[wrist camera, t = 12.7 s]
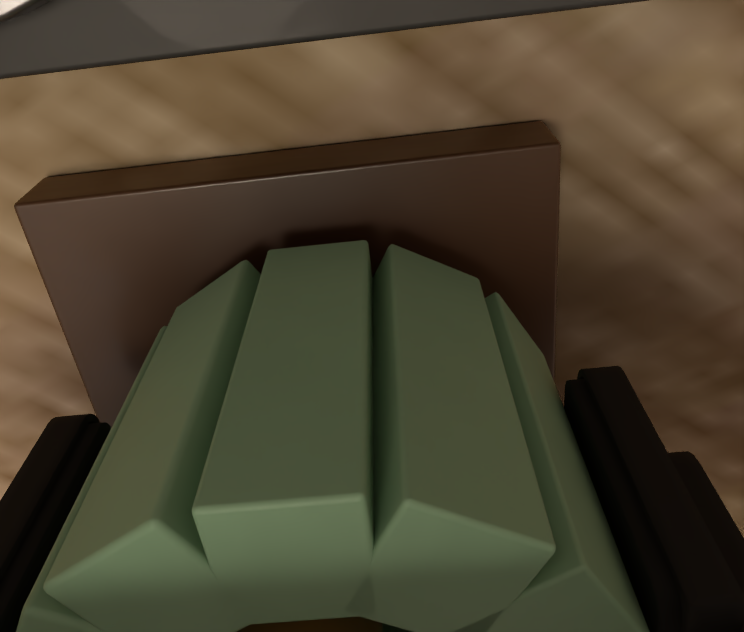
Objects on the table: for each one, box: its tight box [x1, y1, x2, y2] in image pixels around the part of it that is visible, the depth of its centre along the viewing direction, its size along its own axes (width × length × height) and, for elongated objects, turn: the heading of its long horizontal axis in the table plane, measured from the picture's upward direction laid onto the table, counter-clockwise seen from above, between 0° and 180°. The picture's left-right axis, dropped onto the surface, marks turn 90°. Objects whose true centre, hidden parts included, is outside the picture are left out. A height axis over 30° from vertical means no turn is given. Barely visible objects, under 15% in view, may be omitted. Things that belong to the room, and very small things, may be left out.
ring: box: [16, 240, 650, 632], centre depth 9 cm, size 7×7×5 cm
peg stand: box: [14, 121, 561, 632], centre depth 10 cm, size 8×8×7 cm
